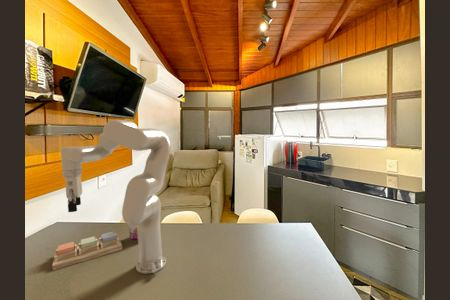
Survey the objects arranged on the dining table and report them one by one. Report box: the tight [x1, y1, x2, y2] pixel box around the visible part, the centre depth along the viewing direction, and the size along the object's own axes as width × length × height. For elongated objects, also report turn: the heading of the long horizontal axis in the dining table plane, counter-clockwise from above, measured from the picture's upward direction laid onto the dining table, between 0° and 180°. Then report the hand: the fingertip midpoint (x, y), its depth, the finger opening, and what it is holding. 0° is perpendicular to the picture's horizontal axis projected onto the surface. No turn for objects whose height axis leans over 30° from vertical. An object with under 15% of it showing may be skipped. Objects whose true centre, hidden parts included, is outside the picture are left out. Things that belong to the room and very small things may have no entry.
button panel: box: [52, 233, 123, 271], centre depth 110 cm, size 14×28×4 cm, turn 124°
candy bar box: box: [128, 225, 138, 240], centre depth 123 cm, size 11×5×16 cm, turn 84°
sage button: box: [80, 235, 96, 249], centre depth 110 cm, size 6×6×3 cm
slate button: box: [101, 230, 116, 243], centre depth 115 cm, size 6×6×3 cm
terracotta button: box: [57, 241, 75, 255], centre depth 105 cm, size 6×6×3 cm
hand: (74, 208), depth 106 cm, fingers open, 9 cm apart
